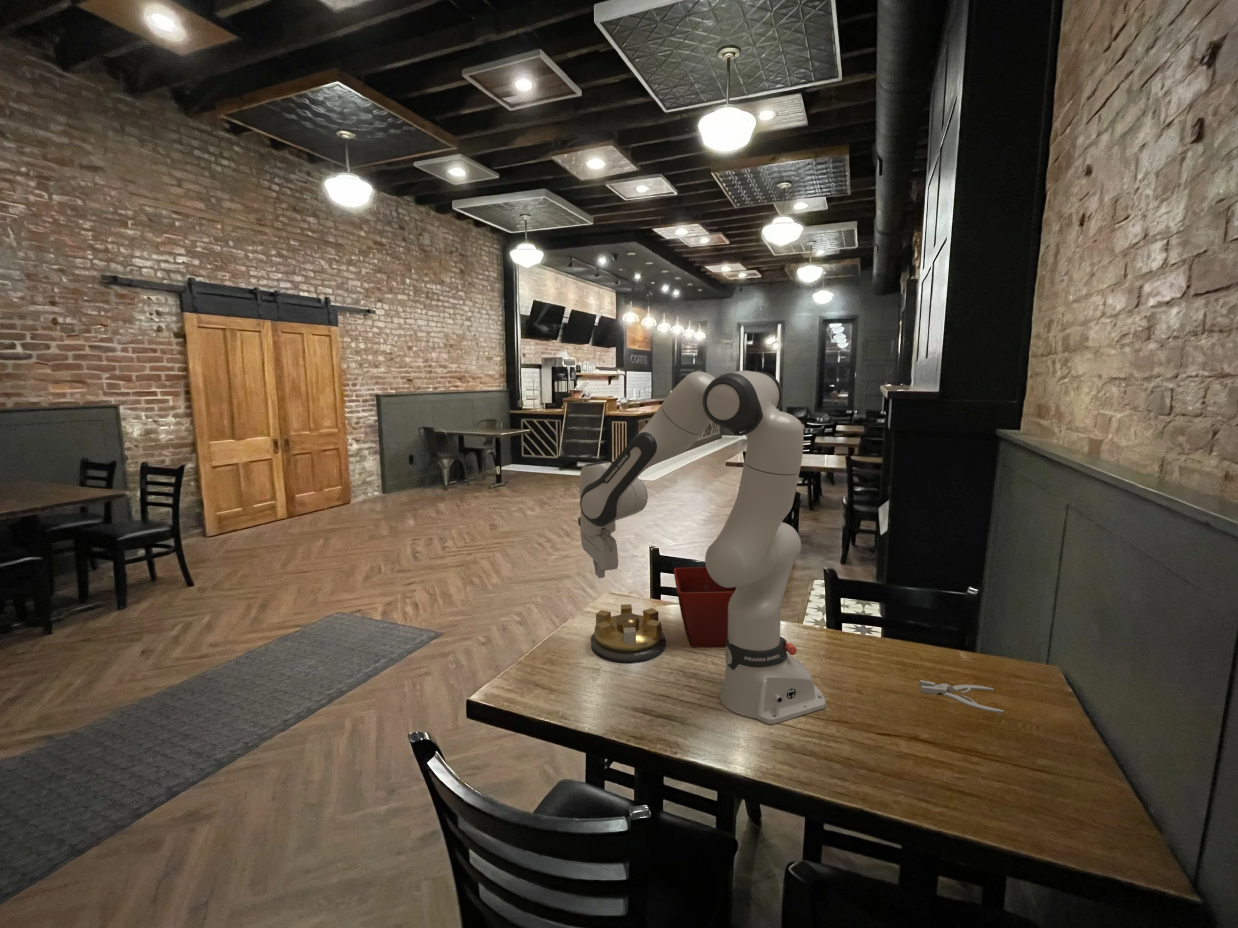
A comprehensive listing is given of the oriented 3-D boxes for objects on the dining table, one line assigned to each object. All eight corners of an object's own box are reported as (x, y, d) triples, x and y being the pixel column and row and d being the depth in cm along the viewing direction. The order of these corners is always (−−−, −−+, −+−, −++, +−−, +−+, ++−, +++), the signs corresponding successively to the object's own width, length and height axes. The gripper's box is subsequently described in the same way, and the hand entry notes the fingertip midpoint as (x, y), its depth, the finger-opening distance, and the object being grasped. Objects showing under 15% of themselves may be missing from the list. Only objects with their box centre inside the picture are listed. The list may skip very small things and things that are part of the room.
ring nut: (594, 624, 159) (594, 605, 159) (657, 621, 160) (657, 603, 159) (594, 654, 142) (594, 634, 141) (665, 651, 142) (665, 631, 141)
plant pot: (678, 653, 146) (677, 591, 143) (673, 622, 164) (673, 567, 162) (752, 653, 145) (753, 591, 142) (739, 622, 164) (740, 566, 161)
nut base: (654, 625, 163) (654, 617, 162) (675, 658, 143) (675, 649, 143) (586, 632, 159) (585, 625, 159) (597, 667, 140) (597, 658, 139)
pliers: (1004, 708, 117) (922, 694, 122) (1003, 715, 117) (922, 701, 123) (993, 684, 126) (917, 672, 132) (992, 690, 126) (917, 678, 132)
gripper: (623, 532, 135) (625, 587, 137) (598, 514, 154) (599, 563, 156) (598, 535, 133) (600, 591, 135) (575, 517, 152) (577, 566, 154)
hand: (600, 576), depth 146 cm, fingers closed
